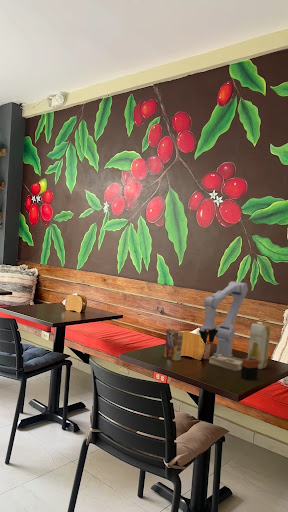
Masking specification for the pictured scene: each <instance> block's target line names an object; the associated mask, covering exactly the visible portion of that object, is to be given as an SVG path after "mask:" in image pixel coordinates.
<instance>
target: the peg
mask: <svg viewBox="0 0 288 512" xmlns="http://www.w3.org/2000/svg"><path fill="white" fill-rule="evenodd" d="M210 353H211V343H210V342H209V343H207V342H206V344H205V352H204V356H203V355H202V359H203V360H209V357H211V355H210Z"/></svg>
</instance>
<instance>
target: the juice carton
mask: <svg viewBox="0 0 288 512" xmlns="http://www.w3.org/2000/svg"><path fill="white" fill-rule="evenodd" d="M270 338H271V325H269V324H263V322H262V321H258V322H254V323H251V325H250V333H249V342H248V352H247V358H251V357H255V359H257V360H258V361H259V362H258V370H262V369H265V368H267V365H268V358H269V348H270Z"/></svg>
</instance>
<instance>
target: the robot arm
mask: <svg viewBox="0 0 288 512" xmlns="http://www.w3.org/2000/svg"><path fill="white" fill-rule="evenodd" d="M248 290H249V287H248V284H247V283H246V282H240V281H239V282H238V281H234V280H231V281H230V282H228V285H227V286H226V287H225V288H224V289H223V290H217V291H216V292H214V294H211V296H206V297H205V298H204V301H203V305H204V322H203V324H202V325H201V327H200V329H199V330H198V333H199V335H200V339H201V338H202V339H203V341H204V343H205V344H206V343H207V340H208V342H209V343H214V340H215V337H216V339H217V343H216V352H214V353H213V356H216V355H219V354H224V355H228V356H232V357H234V354H233V346H234V345H233V340H234V338H235V332H236V329H235V327H234V324H235V322H236V321H235V320H236V318H237V317H238V315H239V314H238V313H239V311H240V309H241V307H242V304H243V302H244V300H245V297H246V296H247V293H248ZM229 295H231V297H233V300H232V302H231V305H230V307H229V309H228V311H227V314H226V317H225V319H224V322H222V323H220V324H219V325H215V323H216V322H215V321H216V314H217V309H218V307H219V305H220V303H222V302H223V301H224V300H226V298H227V296H229Z"/></svg>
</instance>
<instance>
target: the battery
mask: <svg viewBox="0 0 288 512" xmlns="http://www.w3.org/2000/svg"><path fill="white" fill-rule="evenodd" d="M242 359H243V361H242V370H240V371H241V375H240V378H242V379H244V380H248V381H249V380H256V379H258V370H259V369H258V362H259V361H258V360H257V359H255V357H251V358H248V357H245V358H242Z"/></svg>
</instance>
